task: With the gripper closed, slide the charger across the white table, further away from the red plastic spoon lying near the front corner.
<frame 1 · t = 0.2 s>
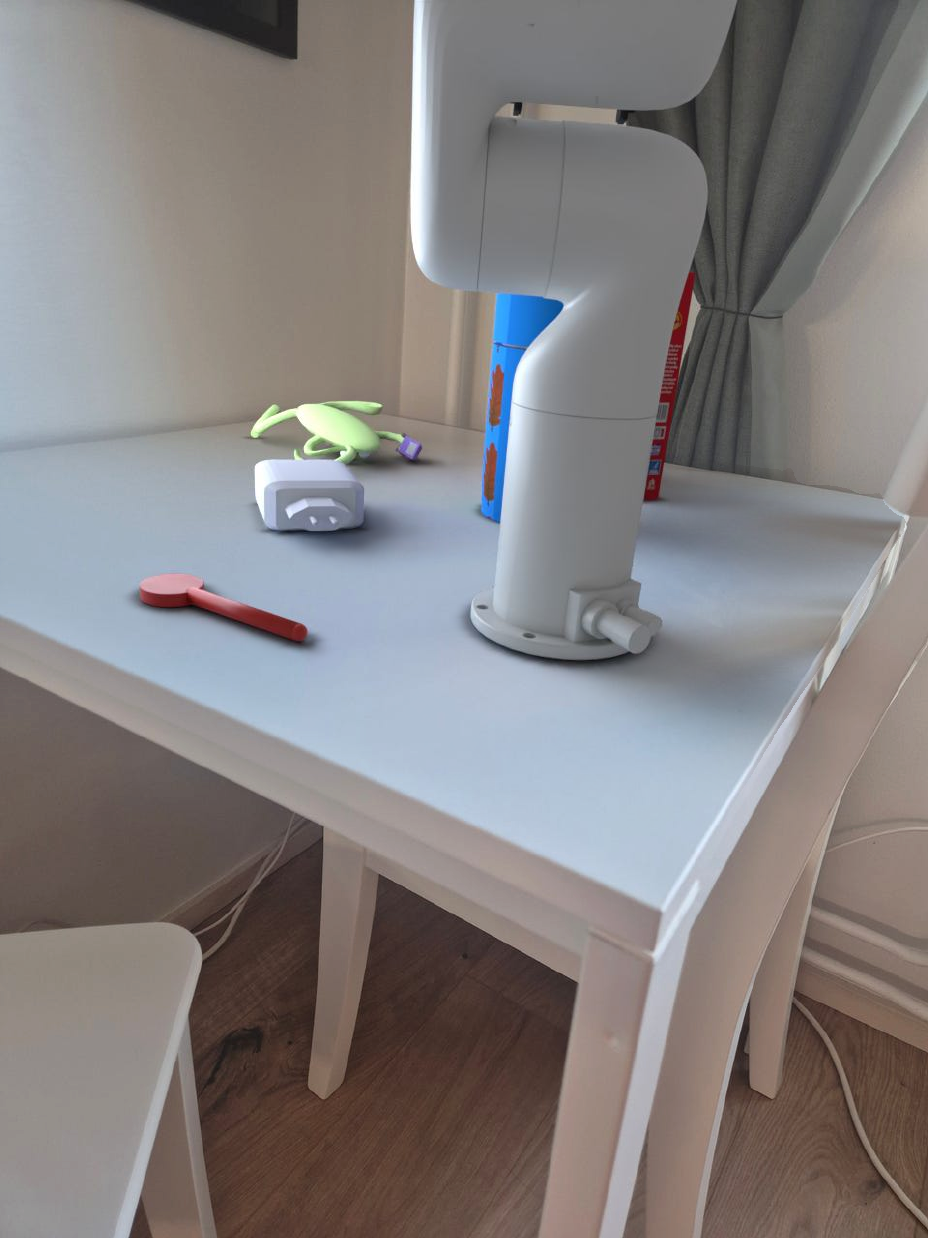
hand: (569, 117, 76), 37 cm above the table, tool pointing down, fingers open, 9 cm apart
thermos: (530, 516, 89), on the table
food packaging: (604, 486, 104), on the table
spoon: (217, 611, 58), on the table
figurine: (335, 451, 112), on the table
charger: (312, 528, 79), on the table
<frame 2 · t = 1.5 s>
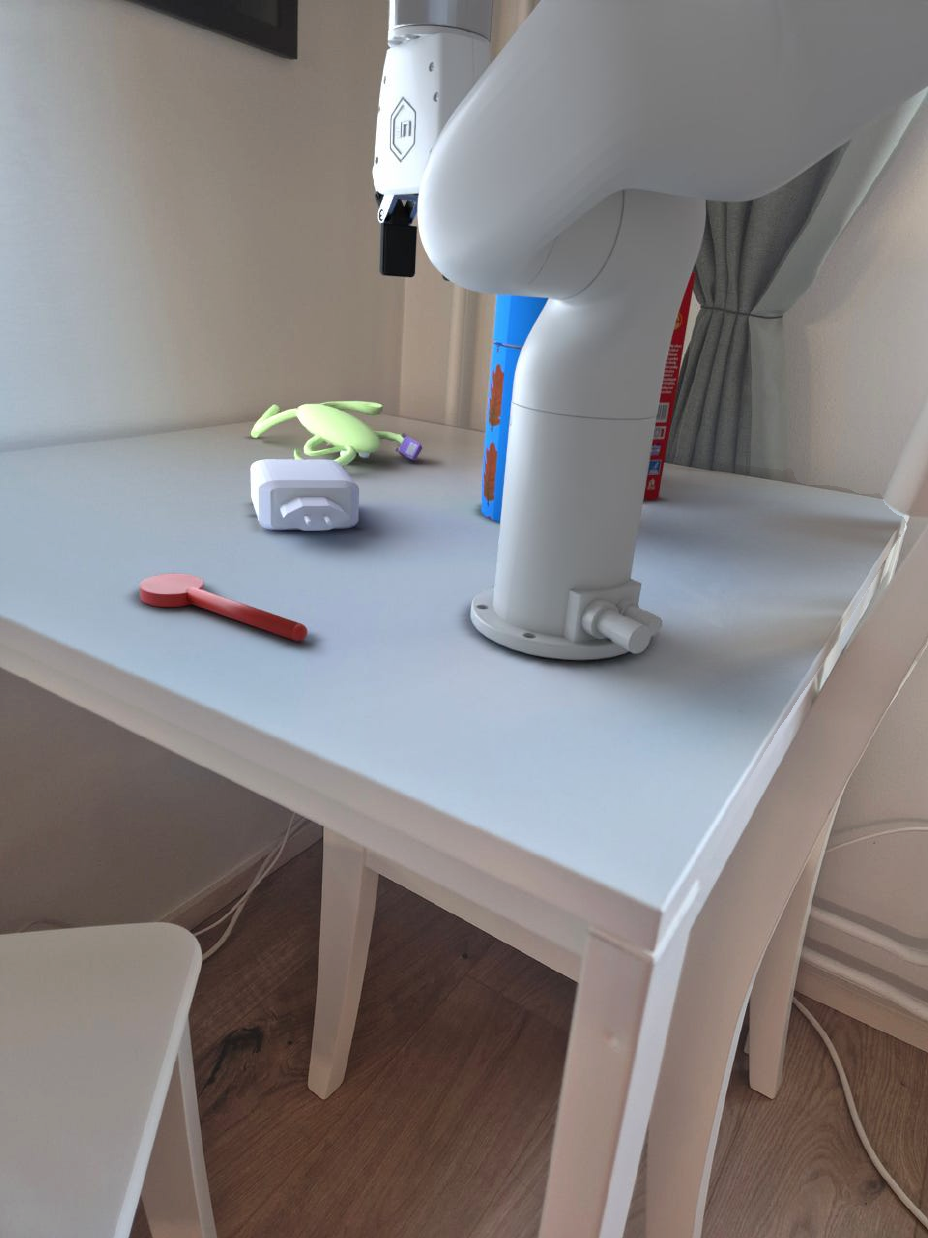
hand: (427, 278, 67), 23 cm above the table, tool pointing down, fingers open, 9 cm apart
nothing on the table moved.
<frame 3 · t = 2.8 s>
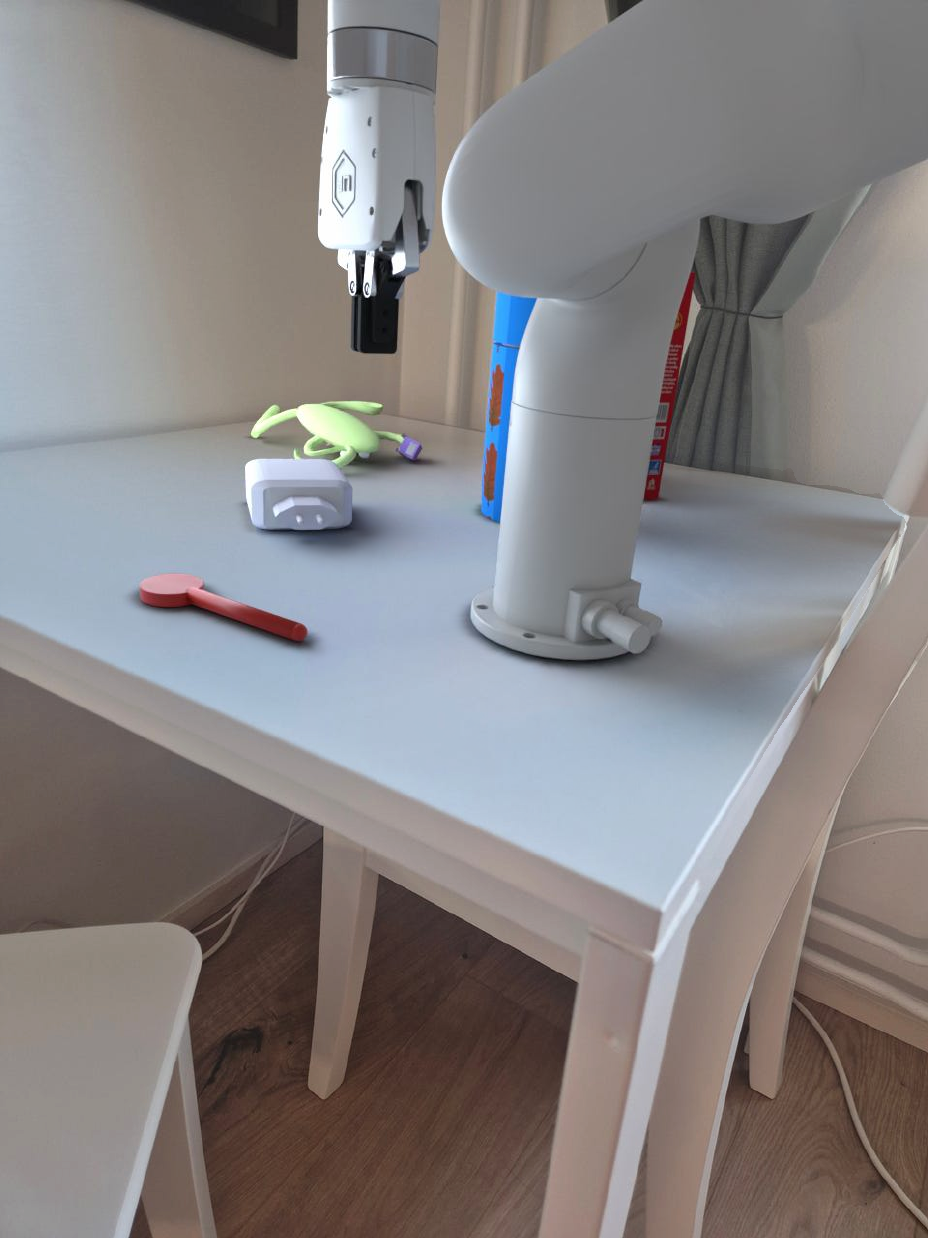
hand: (373, 351, 64), 17 cm above the table, tool pointing down, fingers closed
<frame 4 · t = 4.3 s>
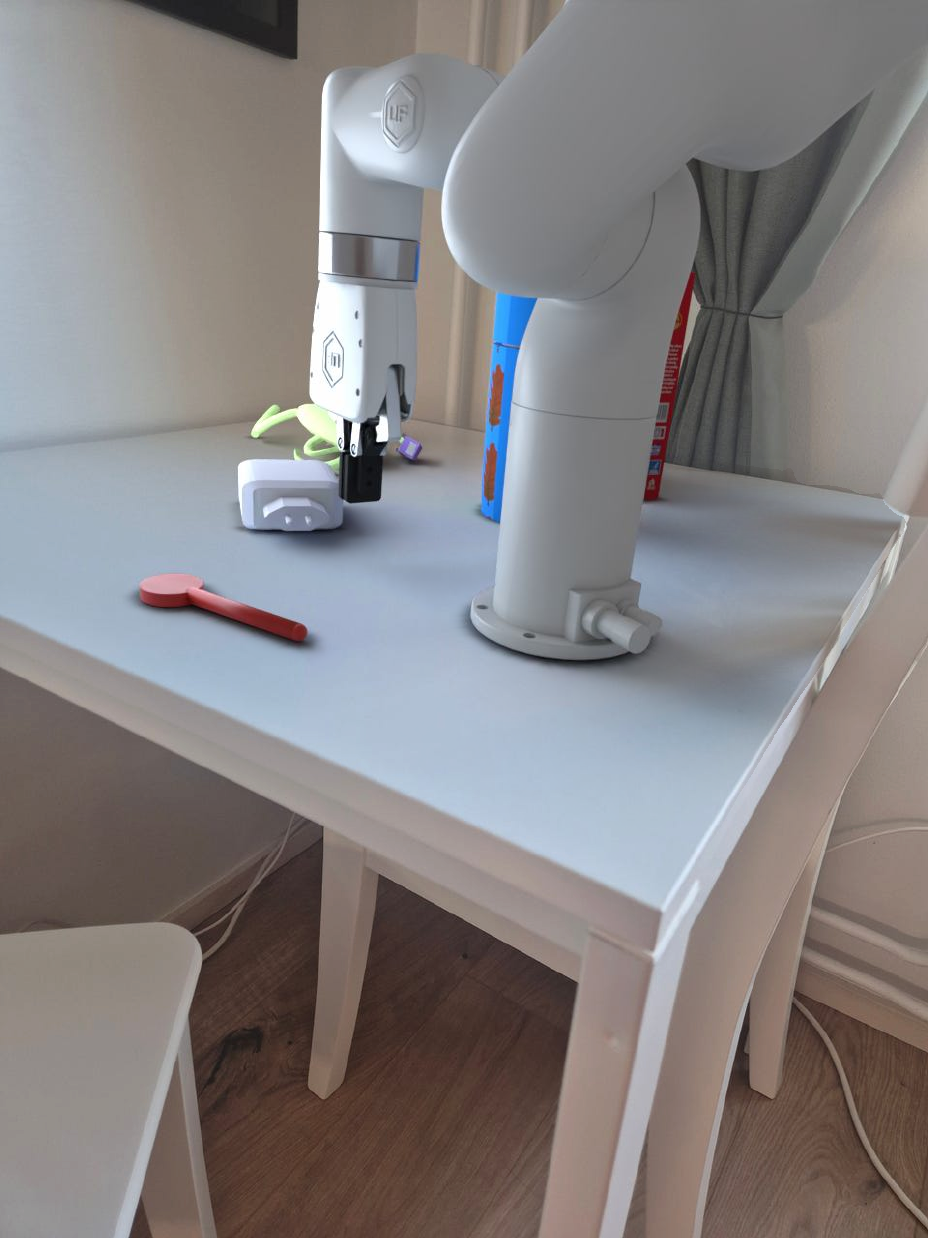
hand: (359, 499, 70), 5 cm above the table, tool pointing down, fingers closed
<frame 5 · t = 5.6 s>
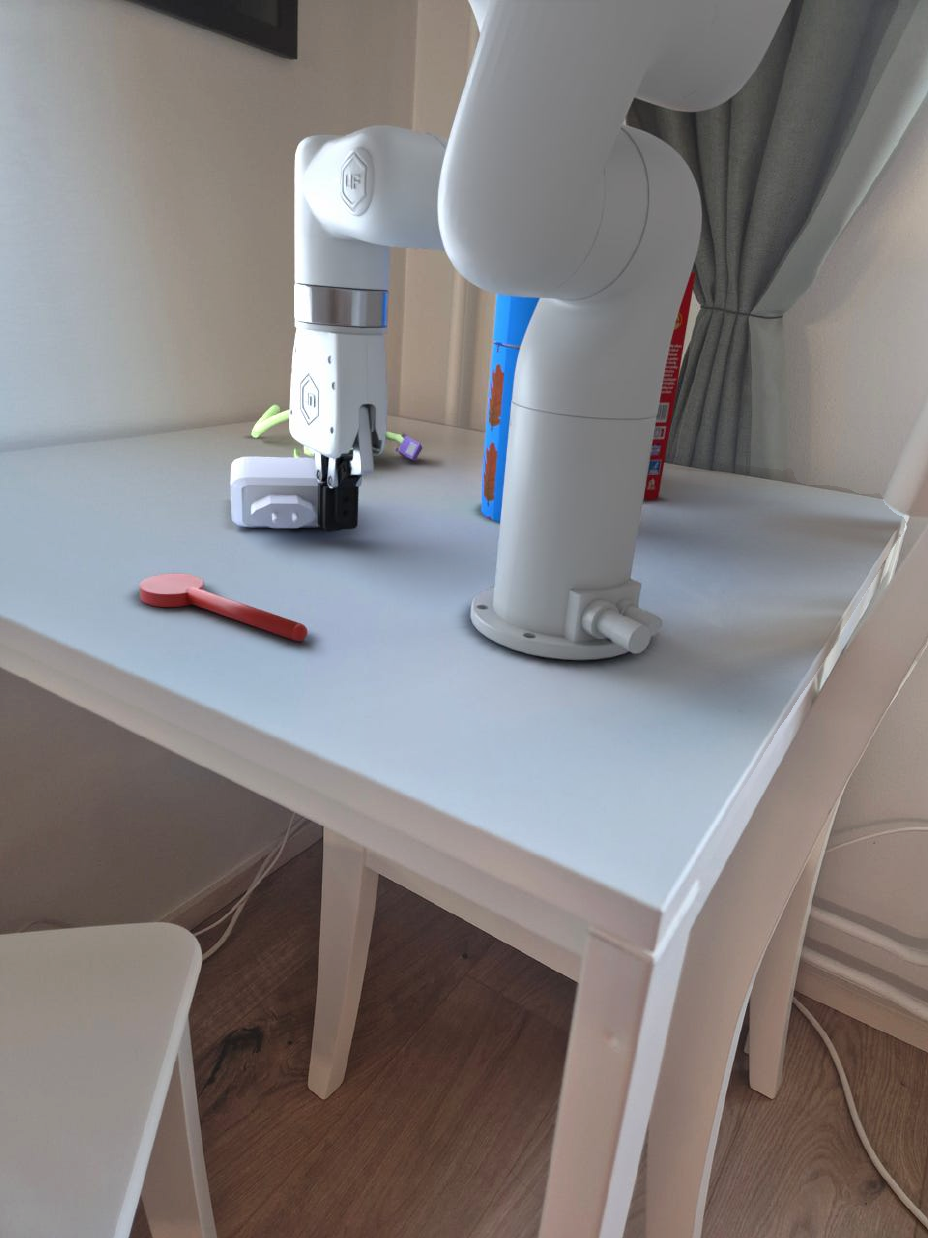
hand: (337, 527, 75), 1 cm above the table, tool pointing down, fingers closed
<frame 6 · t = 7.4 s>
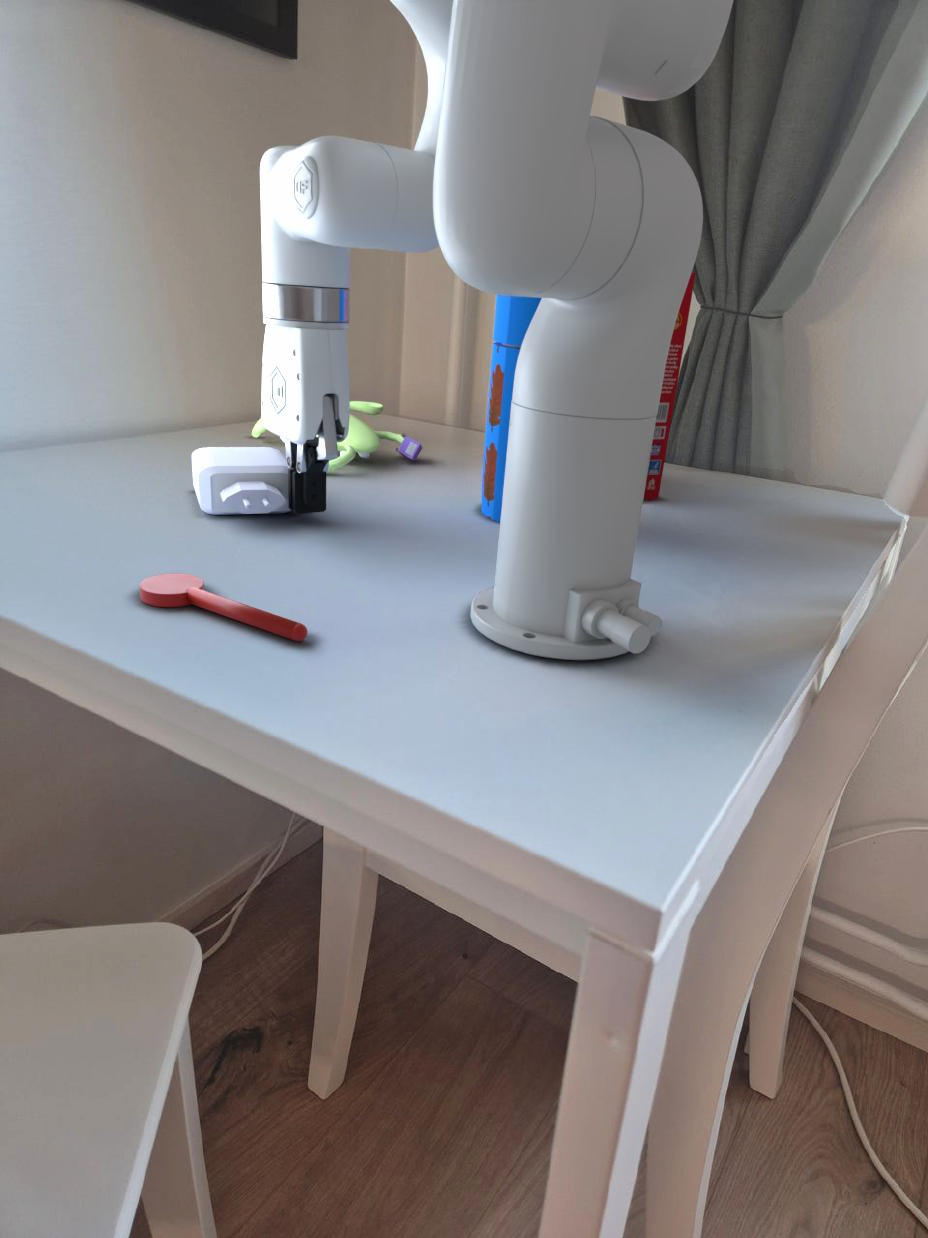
hand: (307, 510, 80), 1 cm above the table, tool pointing down, fingers closed
charger: (248, 512, 82), on the table, touching gripper
everything else where it was.
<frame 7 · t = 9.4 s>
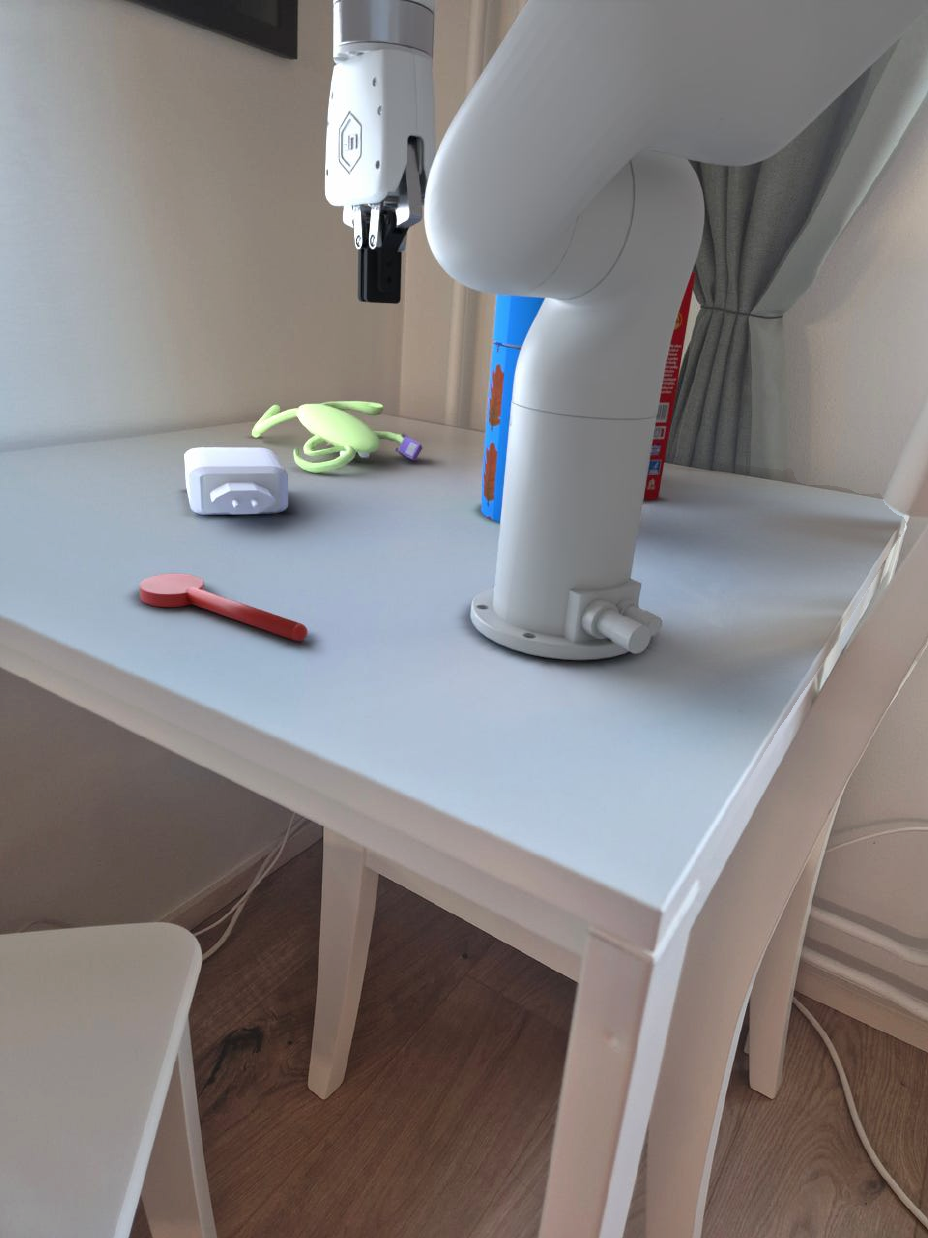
hand: (379, 301, 69), 20 cm above the table, tool pointing down, fingers closed
charger: (239, 512, 82), on the table
everything else where it was.
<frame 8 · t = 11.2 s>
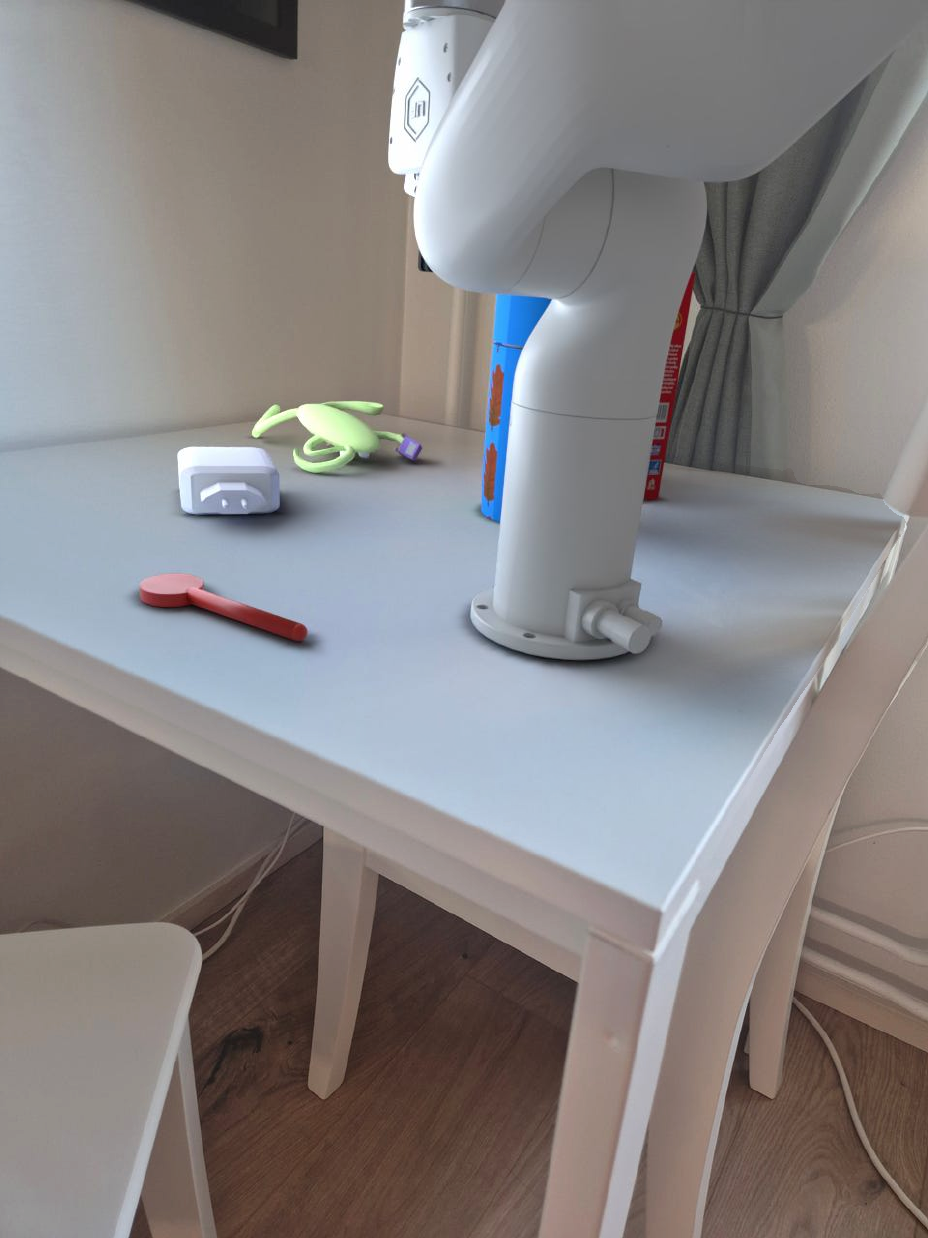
hand: (439, 271, 69), 23 cm above the table, tool pointing down, fingers closed
nothing on the table moved.
at the end: charger inside the target area (6.3 cm from its centre), on the table; charger tilted 0°; spoon moved 0.0 cm from its start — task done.
